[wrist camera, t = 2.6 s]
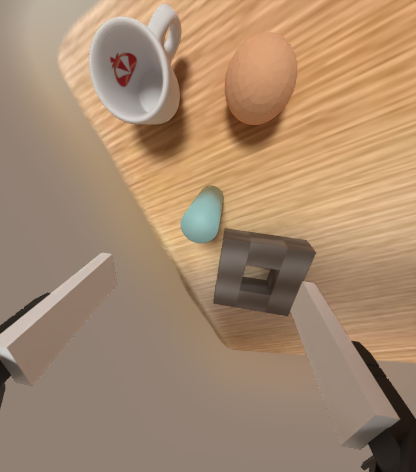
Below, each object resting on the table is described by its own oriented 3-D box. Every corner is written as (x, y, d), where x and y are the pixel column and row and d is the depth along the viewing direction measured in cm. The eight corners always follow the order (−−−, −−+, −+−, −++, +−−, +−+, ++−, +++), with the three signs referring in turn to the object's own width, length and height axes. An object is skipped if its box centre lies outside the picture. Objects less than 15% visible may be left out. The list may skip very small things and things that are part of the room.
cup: (158, 12, 21) (120, -60, 14) (212, 65, 22) (203, 25, 15) (120, 103, 25) (76, 86, 18) (167, 143, 27) (143, 140, 19)
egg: (239, 46, 21) (244, -12, 13) (296, 70, 21) (332, 26, 14) (217, 116, 24) (211, 101, 17) (267, 136, 25) (283, 131, 17)
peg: (200, 184, 29) (181, 205, 18) (225, 187, 28) (221, 210, 18) (198, 208, 30) (180, 240, 20) (221, 211, 30) (216, 245, 19)
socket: (224, 228, 31) (224, 238, 28) (306, 240, 31) (316, 252, 27) (215, 288, 38) (213, 303, 34) (282, 299, 37) (287, 316, 33)
